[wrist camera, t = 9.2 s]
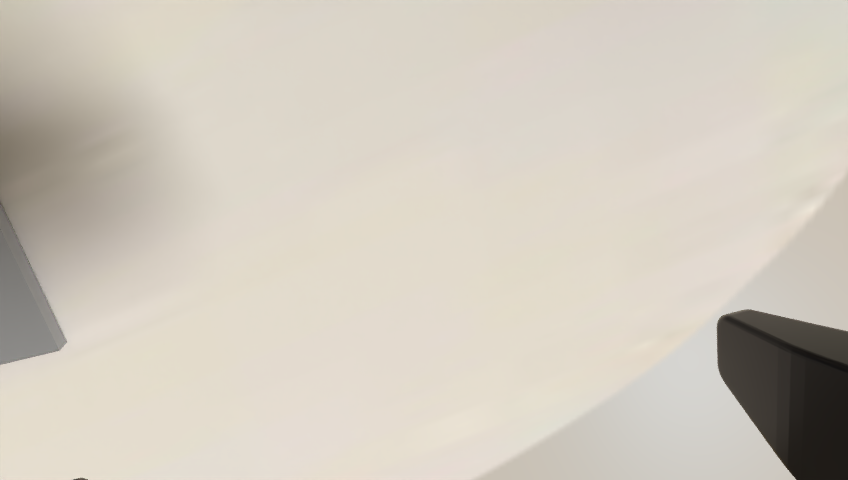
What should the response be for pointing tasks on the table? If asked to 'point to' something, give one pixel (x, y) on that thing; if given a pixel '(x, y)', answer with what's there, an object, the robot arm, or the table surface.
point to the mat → (23, 304)
